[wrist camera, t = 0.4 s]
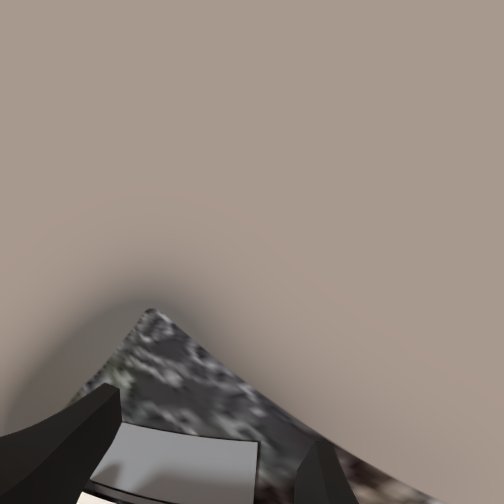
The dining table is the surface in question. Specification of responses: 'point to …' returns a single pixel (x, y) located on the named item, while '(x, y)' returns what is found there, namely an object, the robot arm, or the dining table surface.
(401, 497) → the dining table surface
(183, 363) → the dining table surface
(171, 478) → the mat
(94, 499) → the white rectangular block
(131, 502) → the frame
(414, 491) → the dining table surface
